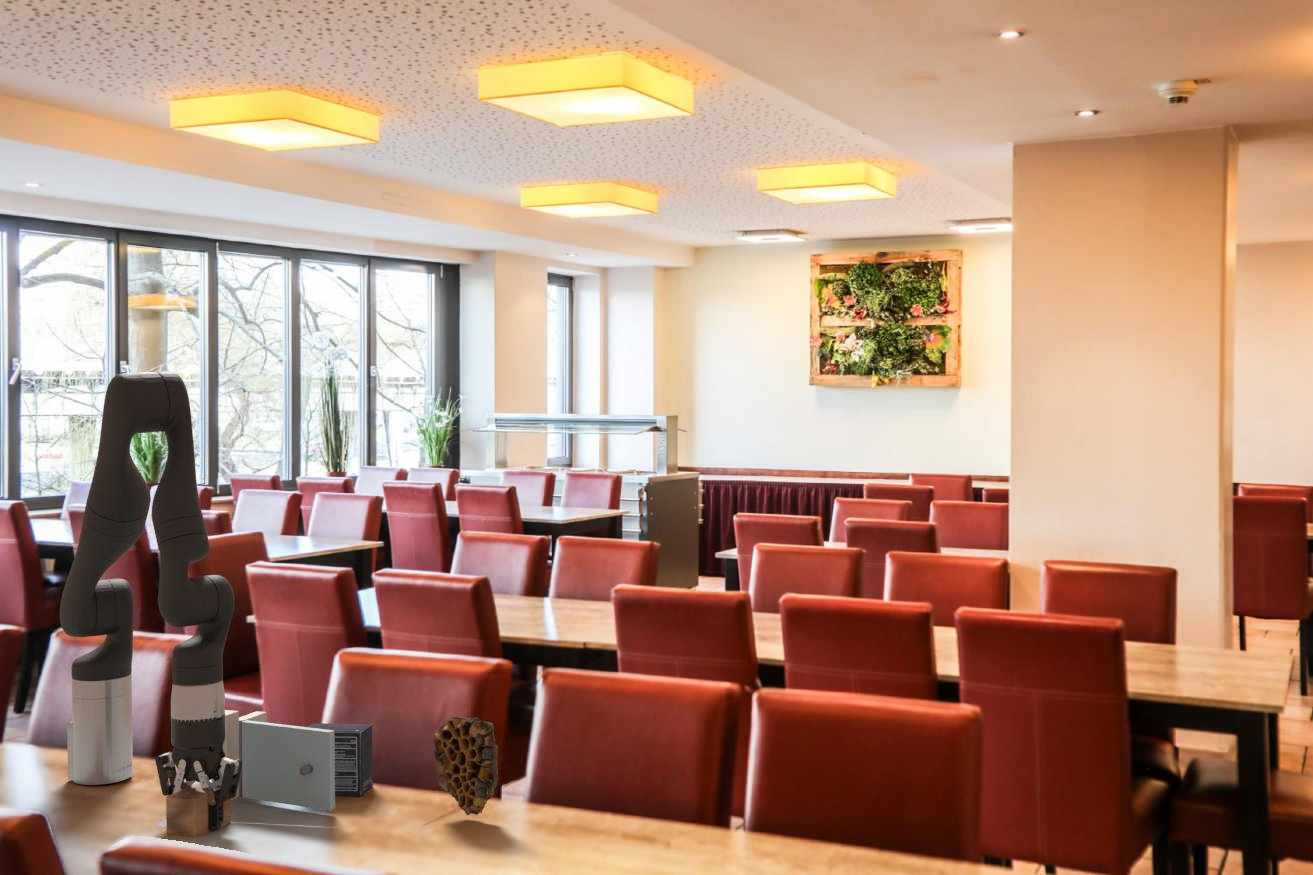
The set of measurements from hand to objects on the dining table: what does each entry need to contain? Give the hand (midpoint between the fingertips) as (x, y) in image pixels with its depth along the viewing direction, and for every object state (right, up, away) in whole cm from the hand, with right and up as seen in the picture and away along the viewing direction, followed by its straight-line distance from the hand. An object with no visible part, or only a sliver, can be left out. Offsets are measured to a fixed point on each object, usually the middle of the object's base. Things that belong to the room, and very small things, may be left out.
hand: (199, 825), depth 188 cm
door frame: (-3, -1, +9) cm, 9 cm away
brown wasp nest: (+38, -1, +7) cm, 39 cm away
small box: (+15, -1, +20) cm, 25 cm away
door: (+9, 0, +10) cm, 14 cm away
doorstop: (0, -1, 0) cm, 1 cm away
